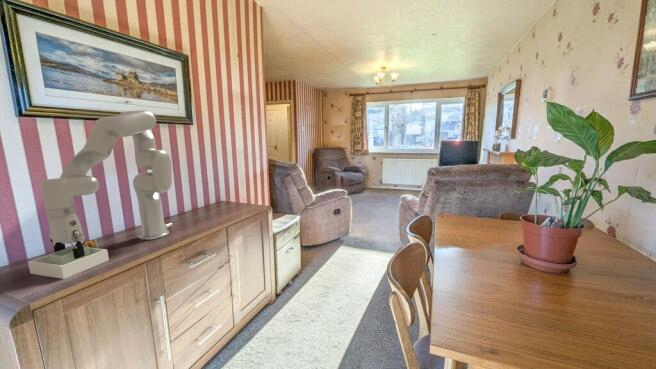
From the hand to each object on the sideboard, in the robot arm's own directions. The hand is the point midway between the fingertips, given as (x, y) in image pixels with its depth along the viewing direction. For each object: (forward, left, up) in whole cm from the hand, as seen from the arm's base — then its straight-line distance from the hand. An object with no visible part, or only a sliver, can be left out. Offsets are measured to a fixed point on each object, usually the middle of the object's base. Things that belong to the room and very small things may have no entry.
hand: (70, 256), depth 102 cm
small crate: (0, 0, -3) cm, 3 cm away
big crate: (0, 0, -4) cm, 4 cm away
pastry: (-14, -13, -5) cm, 19 cm away
